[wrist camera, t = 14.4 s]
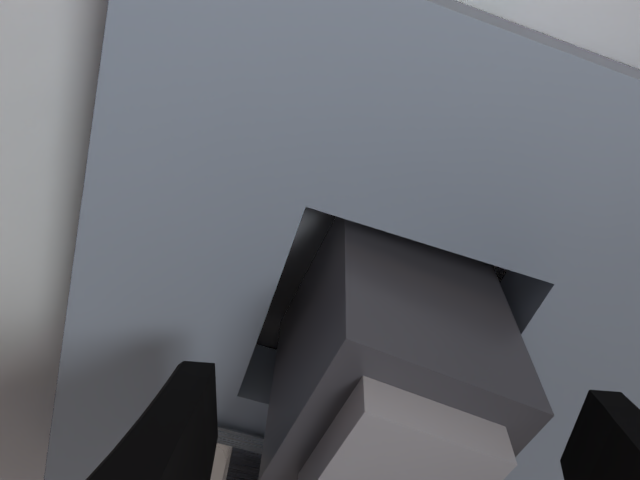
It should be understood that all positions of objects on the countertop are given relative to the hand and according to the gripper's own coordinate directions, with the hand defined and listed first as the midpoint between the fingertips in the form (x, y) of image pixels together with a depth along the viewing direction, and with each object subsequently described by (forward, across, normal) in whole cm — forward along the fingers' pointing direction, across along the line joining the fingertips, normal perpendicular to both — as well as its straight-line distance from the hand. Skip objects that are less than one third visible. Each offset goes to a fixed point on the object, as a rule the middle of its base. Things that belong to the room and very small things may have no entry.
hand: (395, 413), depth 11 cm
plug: (+4, 0, 0) cm, 4 cm away
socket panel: (+4, -1, +1) cm, 4 cm away
